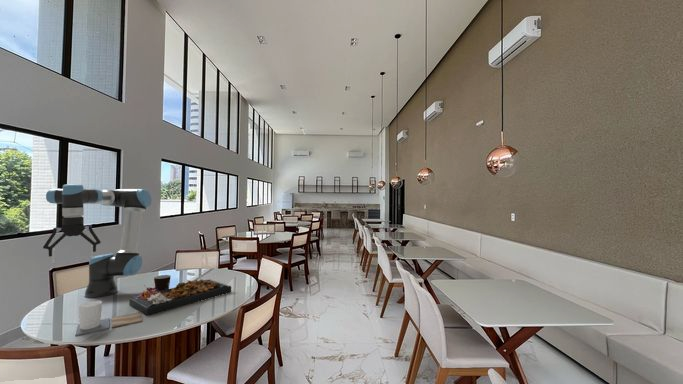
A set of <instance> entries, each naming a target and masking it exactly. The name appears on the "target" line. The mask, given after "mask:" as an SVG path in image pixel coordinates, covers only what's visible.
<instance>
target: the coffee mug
mask: <svg viewBox="0 0 683 384" xmlns="http://www.w3.org/2000/svg"><path fill="white" fill-rule="evenodd" d="M153 281H154V288H155V287H156V289H157V291H162V290H166V289H170V283H171V275H169V274H161V275H157V276H153Z"/></svg>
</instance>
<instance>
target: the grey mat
mask: <svg viewBox="0 0 683 384" xmlns="http://www.w3.org/2000/svg"><path fill="white" fill-rule="evenodd" d="M109 329H110V318H108V317H107V318H103V319H102V318H101V319H100V325H99V326H97V327H95V328H92V329H87V330H81V329H80V323H77V327H76V332H75V337H78V336H83V335H89V334H91V333H96V332H101V331H105V330H109Z"/></svg>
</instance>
